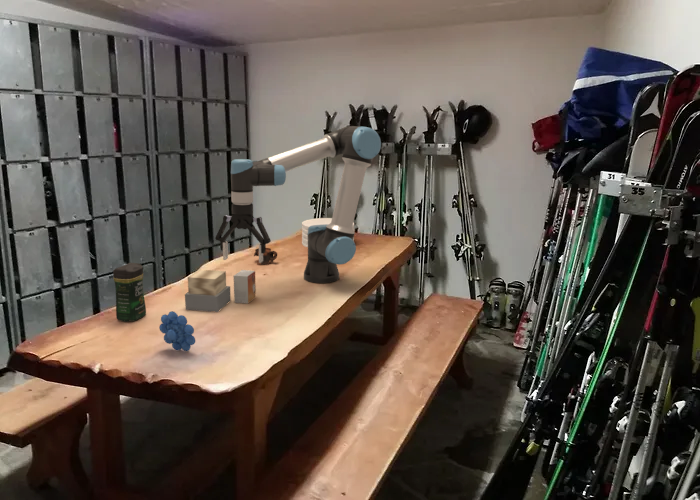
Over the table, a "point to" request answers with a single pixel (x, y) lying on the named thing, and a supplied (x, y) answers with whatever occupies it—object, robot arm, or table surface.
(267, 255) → the pottery mug
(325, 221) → the plate stack
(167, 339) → the grapes
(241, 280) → the small box
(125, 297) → the coffee jar
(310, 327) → the table surface
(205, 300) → the block base
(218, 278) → the block top
